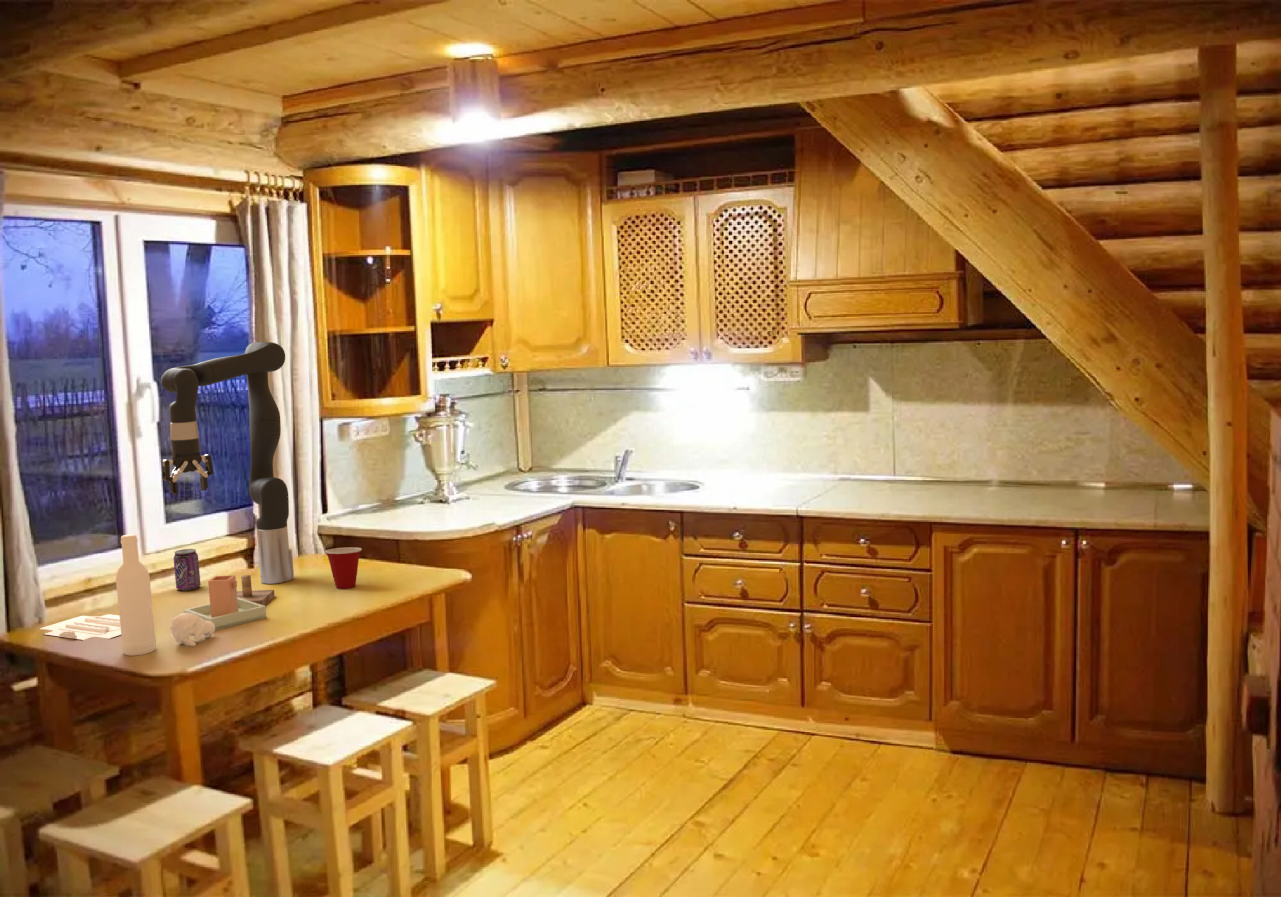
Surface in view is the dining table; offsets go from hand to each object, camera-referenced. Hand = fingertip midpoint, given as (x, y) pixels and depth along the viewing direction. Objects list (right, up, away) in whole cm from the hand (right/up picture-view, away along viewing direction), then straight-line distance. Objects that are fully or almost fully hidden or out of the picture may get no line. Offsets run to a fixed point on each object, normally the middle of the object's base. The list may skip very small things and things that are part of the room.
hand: (189, 492), depth 328 cm
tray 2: (-19, -37, -18) cm, 45 cm away
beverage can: (-9, -31, +22) cm, 39 cm away
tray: (+16, -35, -15) cm, 41 cm away
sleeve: (+16, -34, -15) cm, 40 cm away
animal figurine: (+16, -38, -35) cm, 54 cm away
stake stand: (+16, -32, +3) cm, 36 cm away
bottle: (+4, -39, -42) cm, 57 cm away
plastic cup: (+41, -30, +17) cm, 54 cm away
